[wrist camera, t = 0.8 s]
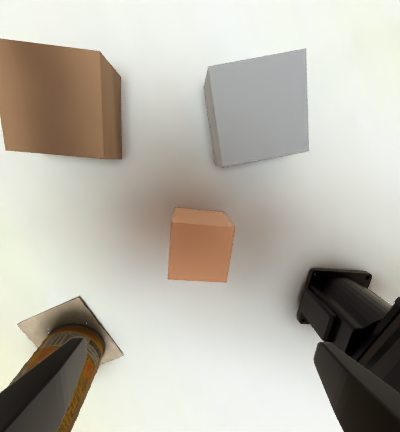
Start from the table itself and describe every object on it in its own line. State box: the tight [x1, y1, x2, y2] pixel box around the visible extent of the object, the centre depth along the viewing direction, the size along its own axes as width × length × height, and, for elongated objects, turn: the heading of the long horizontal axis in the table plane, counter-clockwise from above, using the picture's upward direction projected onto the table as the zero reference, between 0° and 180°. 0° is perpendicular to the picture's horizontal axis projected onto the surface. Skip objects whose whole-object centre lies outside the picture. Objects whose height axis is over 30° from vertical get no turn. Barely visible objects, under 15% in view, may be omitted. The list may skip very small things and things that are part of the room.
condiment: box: [9, 298, 123, 432], centre depth 16 cm, size 7×8×12 cm
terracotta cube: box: [168, 208, 235, 282], centre depth 17 cm, size 4×4×4 cm
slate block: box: [204, 49, 309, 167], centre depth 15 cm, size 6×6×4 cm
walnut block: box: [0, 39, 122, 159], centre depth 14 cm, size 6×6×4 cm
